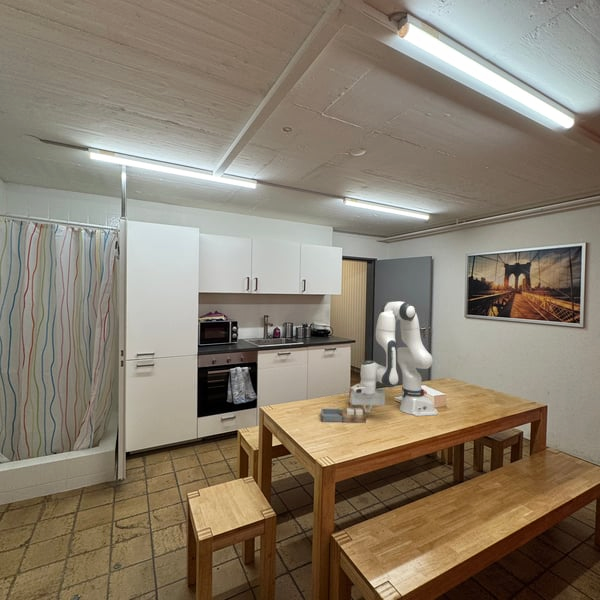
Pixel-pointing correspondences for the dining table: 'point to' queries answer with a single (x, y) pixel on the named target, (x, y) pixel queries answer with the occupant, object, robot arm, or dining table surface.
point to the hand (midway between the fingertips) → (367, 412)
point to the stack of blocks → (349, 398)
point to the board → (352, 417)
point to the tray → (331, 415)
